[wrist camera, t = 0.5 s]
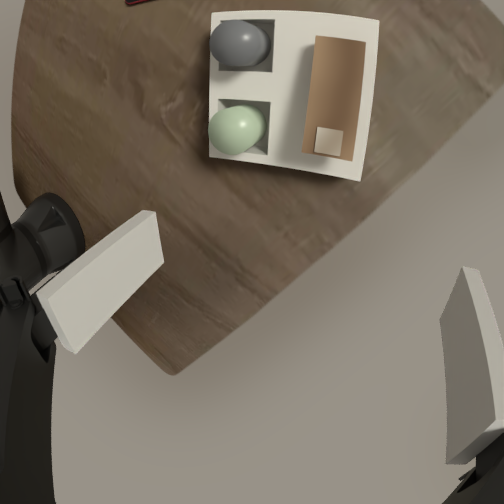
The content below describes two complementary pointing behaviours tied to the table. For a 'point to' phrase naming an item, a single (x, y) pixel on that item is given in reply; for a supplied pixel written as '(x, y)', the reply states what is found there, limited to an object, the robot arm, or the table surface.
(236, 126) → the button sage
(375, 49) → the panel
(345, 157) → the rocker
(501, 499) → the robot arm
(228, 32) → the button graphite
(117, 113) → the table surface
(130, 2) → the smartphone
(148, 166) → the table surface
